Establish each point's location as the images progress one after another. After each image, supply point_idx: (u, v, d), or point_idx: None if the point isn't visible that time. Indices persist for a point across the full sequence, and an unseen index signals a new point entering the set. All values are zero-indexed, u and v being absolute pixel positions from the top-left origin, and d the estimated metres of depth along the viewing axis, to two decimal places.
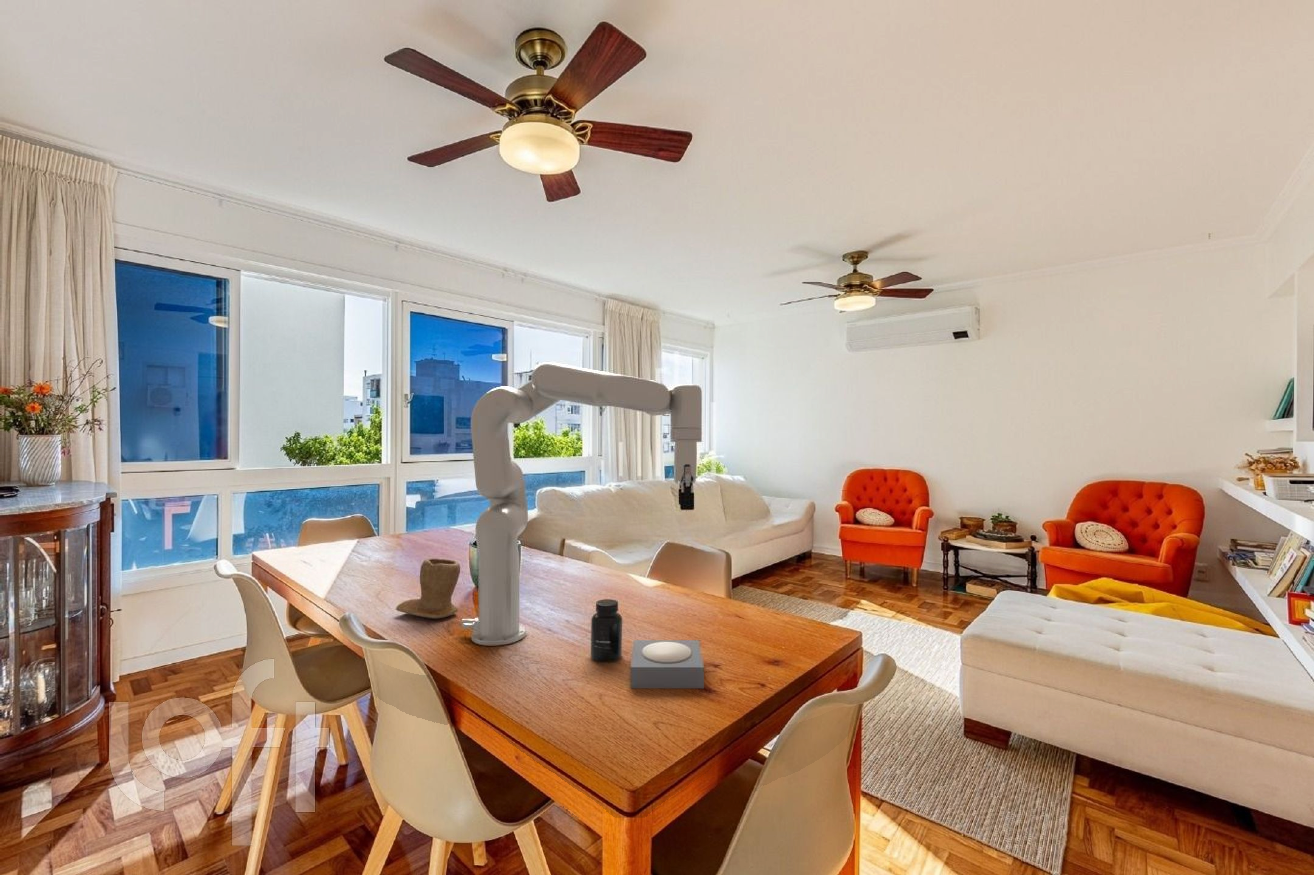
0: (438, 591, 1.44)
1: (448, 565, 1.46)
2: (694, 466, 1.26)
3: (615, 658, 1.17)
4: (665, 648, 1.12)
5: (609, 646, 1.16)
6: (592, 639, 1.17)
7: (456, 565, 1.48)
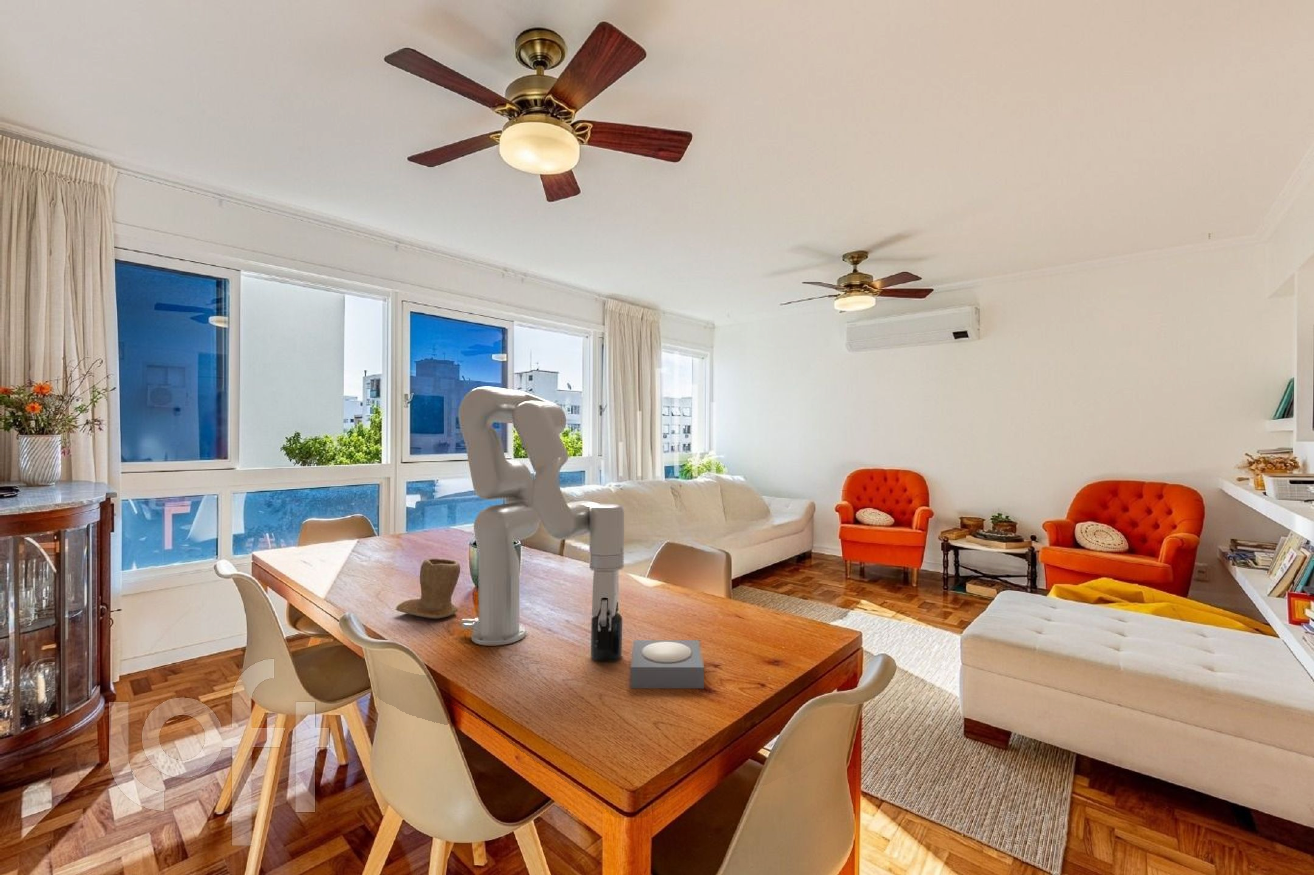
0: (438, 591, 1.44)
1: (448, 565, 1.46)
2: (612, 599, 1.14)
3: (615, 658, 1.16)
4: (665, 648, 1.12)
5: None
6: (592, 639, 1.17)
7: (456, 565, 1.48)
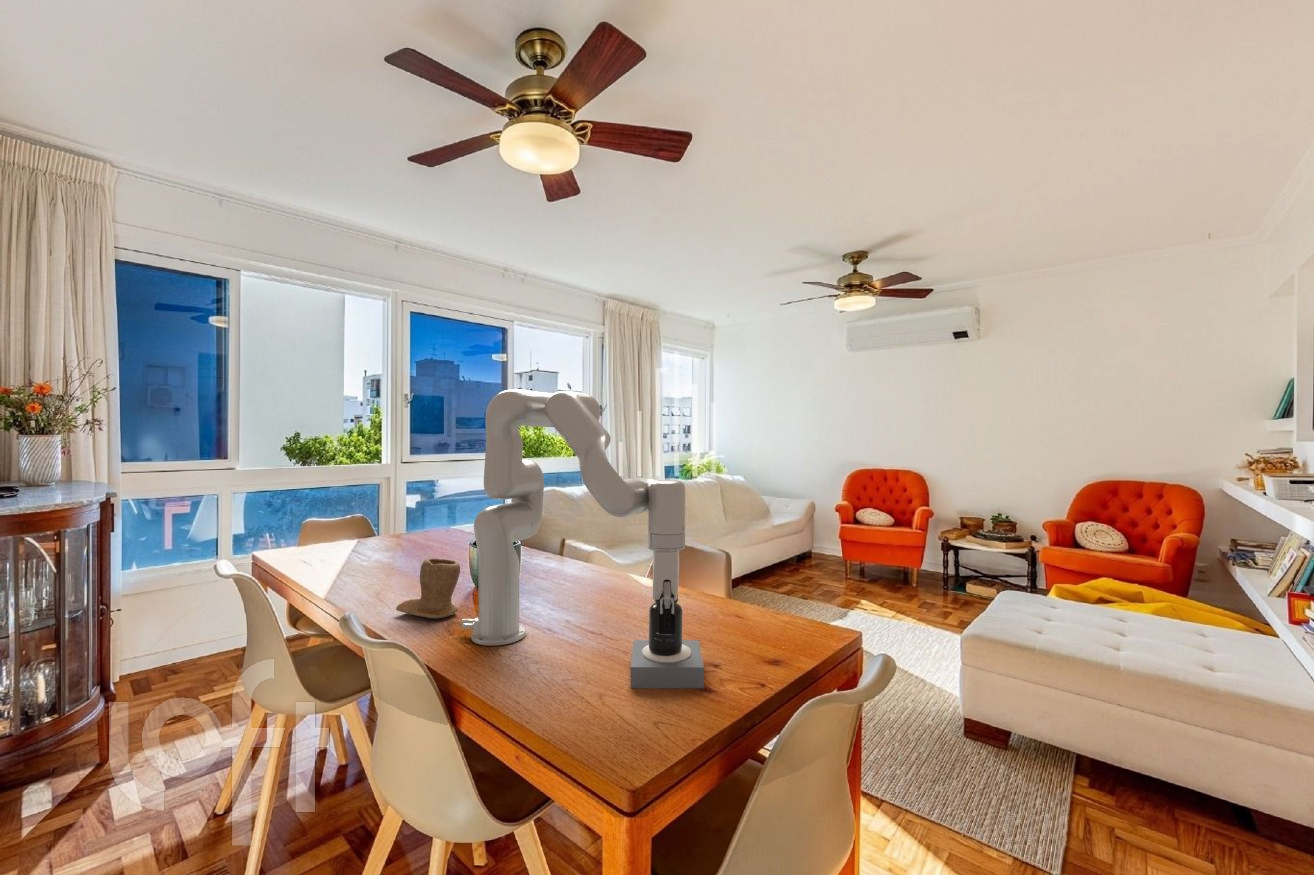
0: (438, 591, 1.44)
1: (448, 565, 1.46)
2: (675, 581, 1.06)
3: (676, 651, 1.09)
4: None
5: (671, 638, 1.08)
6: (652, 631, 1.09)
7: (456, 565, 1.48)
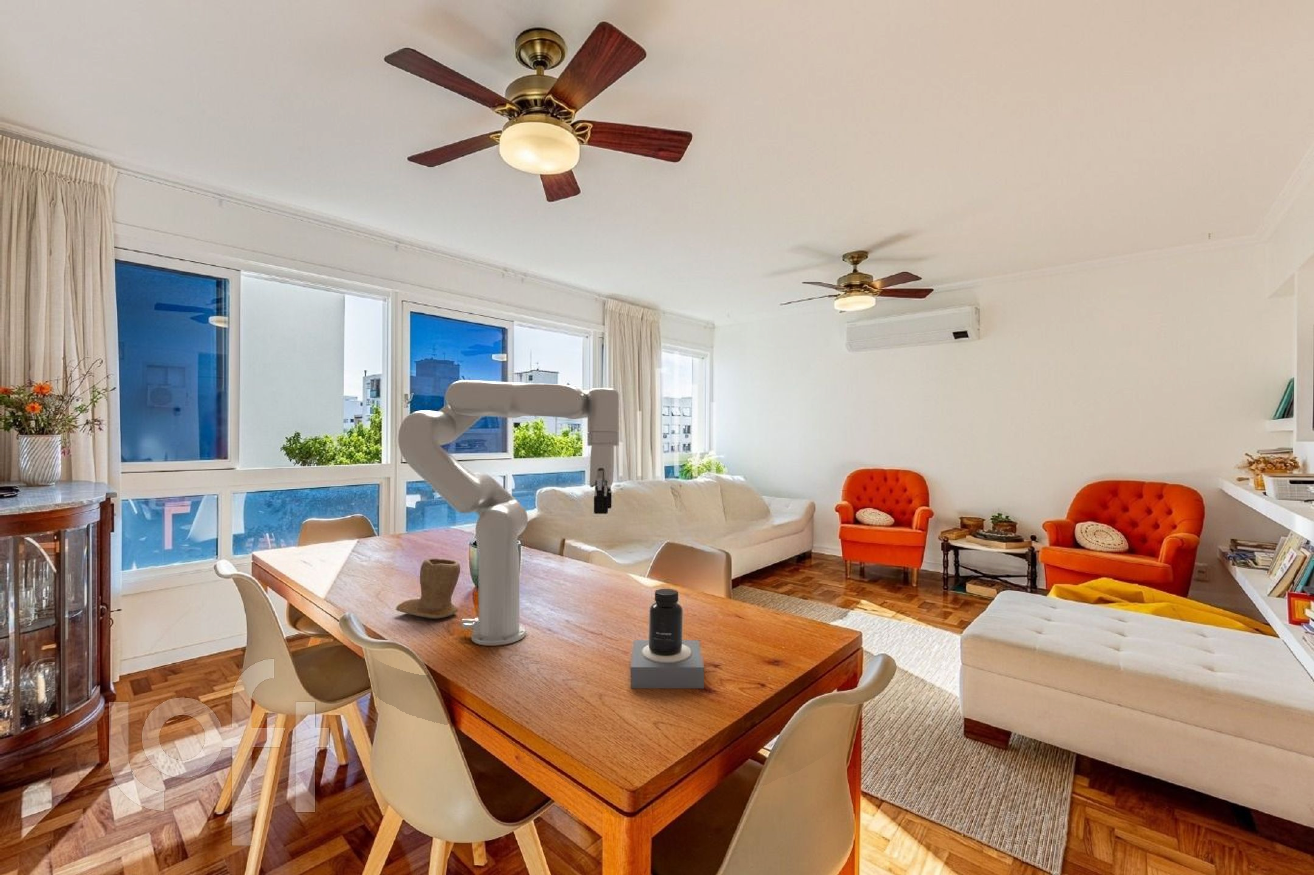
0: (438, 591, 1.44)
1: (448, 565, 1.46)
2: (608, 470, 1.26)
3: (676, 651, 1.09)
4: None
5: (670, 638, 1.08)
6: (652, 630, 1.09)
7: (456, 565, 1.48)
